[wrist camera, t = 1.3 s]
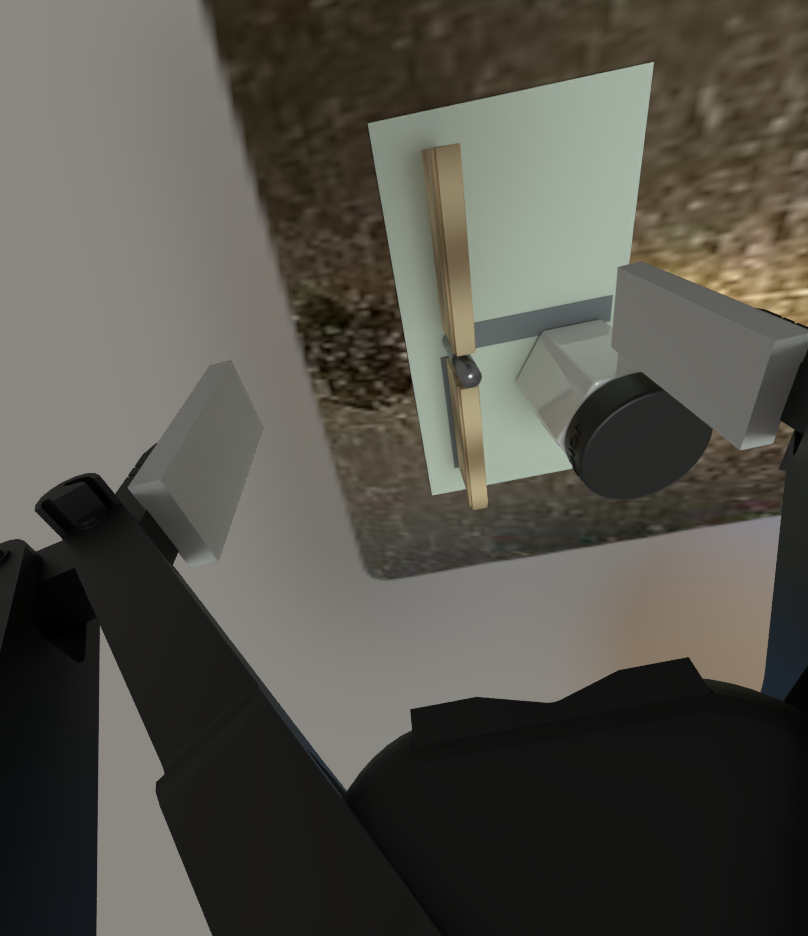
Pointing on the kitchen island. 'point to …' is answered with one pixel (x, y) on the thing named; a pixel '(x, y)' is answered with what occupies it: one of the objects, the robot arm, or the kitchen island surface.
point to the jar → (609, 413)
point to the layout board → (513, 245)
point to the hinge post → (463, 366)
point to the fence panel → (450, 244)
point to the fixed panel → (468, 438)
